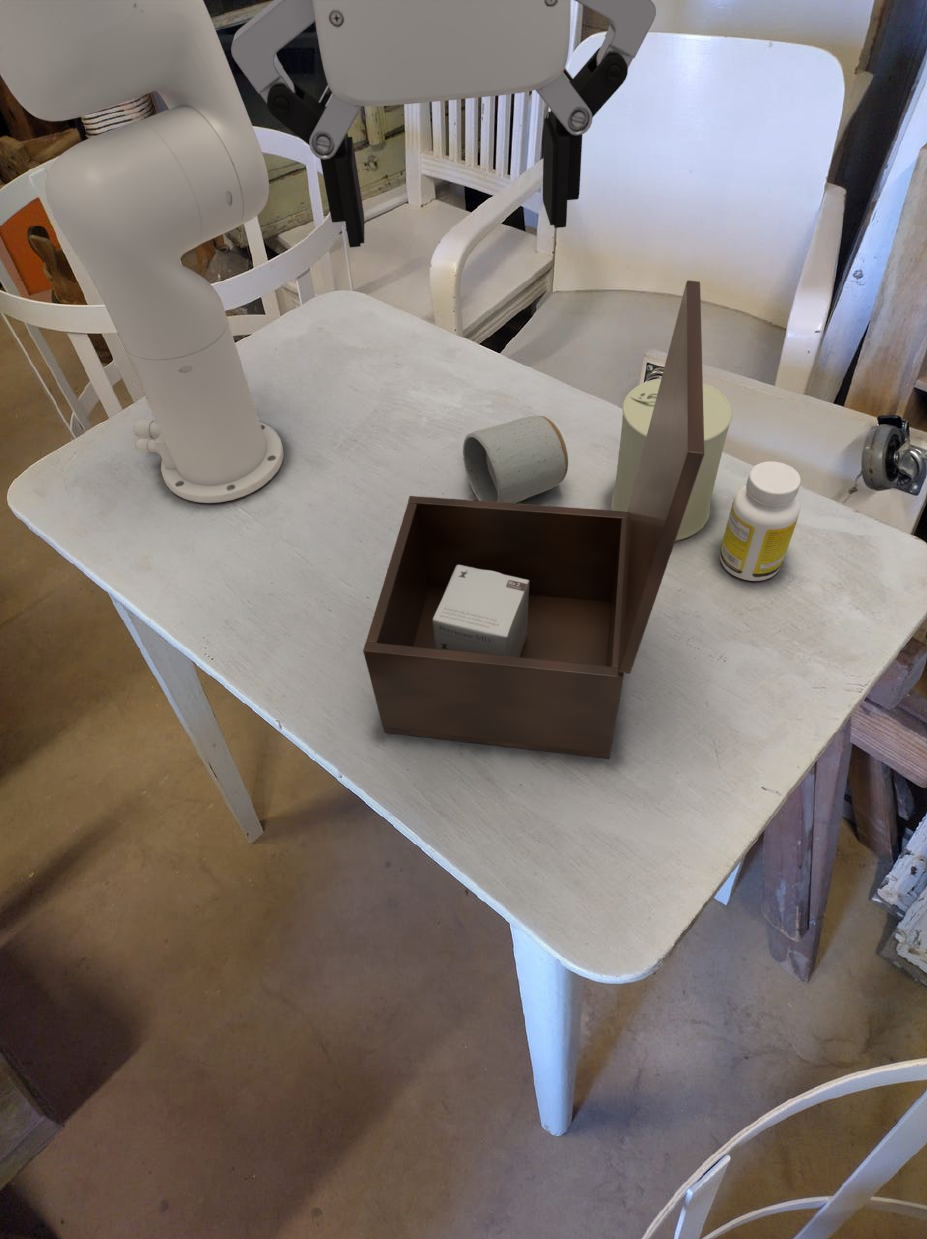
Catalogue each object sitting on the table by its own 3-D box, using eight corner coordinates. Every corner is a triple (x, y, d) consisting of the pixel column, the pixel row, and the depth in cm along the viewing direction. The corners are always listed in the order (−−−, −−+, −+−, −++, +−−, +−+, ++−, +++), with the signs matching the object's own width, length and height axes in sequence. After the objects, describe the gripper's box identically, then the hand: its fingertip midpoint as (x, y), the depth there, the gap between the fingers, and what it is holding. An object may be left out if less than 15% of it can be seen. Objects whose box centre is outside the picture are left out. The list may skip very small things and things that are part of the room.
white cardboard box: (437, 676, 66) (429, 619, 60) (461, 620, 70) (455, 561, 64) (509, 693, 65) (508, 637, 59) (529, 635, 68) (530, 577, 62)
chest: (383, 732, 64) (362, 650, 56) (422, 584, 74) (409, 495, 65) (609, 759, 61) (623, 677, 53) (619, 601, 71) (632, 511, 63)
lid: (687, 451, 38) (704, 454, 38) (686, 279, 48) (700, 281, 48) (618, 672, 53) (630, 674, 53) (628, 506, 62) (638, 508, 62)
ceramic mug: (572, 496, 80) (575, 432, 74) (499, 527, 77) (496, 464, 72) (517, 439, 86) (516, 376, 80) (448, 466, 84) (442, 403, 78)
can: (634, 465, 82) (648, 361, 73) (723, 493, 79) (749, 388, 69) (595, 522, 77) (604, 419, 68) (688, 555, 74) (711, 451, 65)
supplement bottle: (786, 547, 74) (816, 464, 66) (774, 590, 71) (804, 507, 63) (725, 532, 75) (748, 449, 68) (711, 573, 72) (734, 490, 65)
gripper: (660, -336, 29) (617, 174, 42) (171, -291, 29) (283, 206, 42) (719, -327, 24) (649, 245, 37) (133, -273, 24) (273, 281, 37)
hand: (455, 224), depth 40 cm, fingers open, 9 cm apart
